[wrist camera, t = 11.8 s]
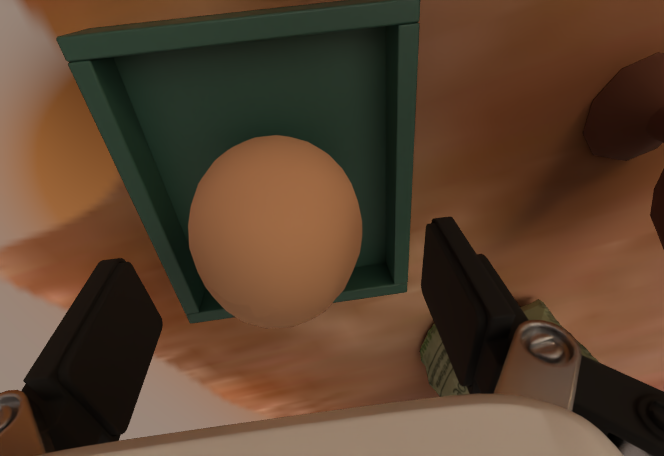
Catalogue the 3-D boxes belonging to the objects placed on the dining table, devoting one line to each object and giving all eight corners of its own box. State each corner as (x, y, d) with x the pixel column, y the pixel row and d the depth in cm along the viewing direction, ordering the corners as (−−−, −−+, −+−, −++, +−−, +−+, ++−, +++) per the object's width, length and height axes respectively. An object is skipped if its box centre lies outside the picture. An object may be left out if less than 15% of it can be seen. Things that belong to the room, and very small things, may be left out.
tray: (87, 28, 14) (53, 37, 12) (401, -6, 15) (421, -4, 13) (198, 291, 23) (189, 324, 21) (395, 263, 23) (407, 292, 21)
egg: (325, 242, 21) (353, 382, 13) (202, 224, 19) (155, 373, 12) (360, 129, 17) (423, 232, 10) (214, 95, 16) (158, 188, 8)
